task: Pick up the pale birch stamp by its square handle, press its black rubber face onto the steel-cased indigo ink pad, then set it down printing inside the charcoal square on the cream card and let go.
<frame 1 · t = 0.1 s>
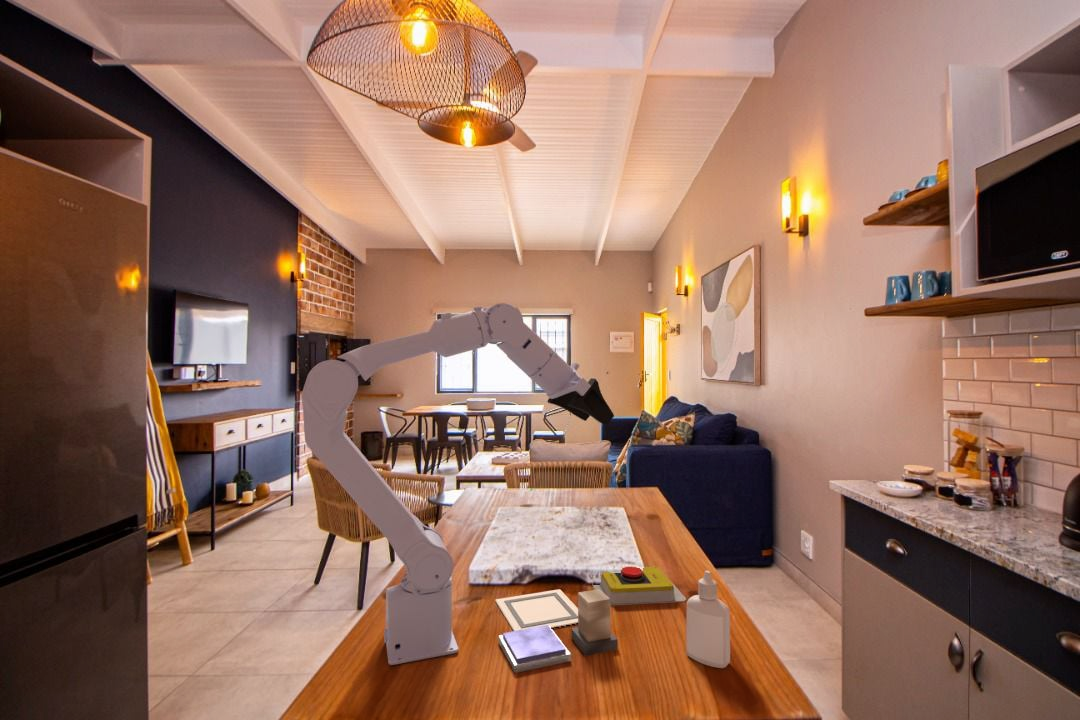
hand: (598, 418, 84), 32 cm above the table, tool tilted 50°, fingers open, 7 cm apart
emergency button: (637, 595, 92), on the table
eye dropper bottle: (708, 660, 70), on the table
stamp: (594, 644, 75), on the table
marked card: (540, 611, 84), on the table
ink pad: (533, 651, 72), on the table
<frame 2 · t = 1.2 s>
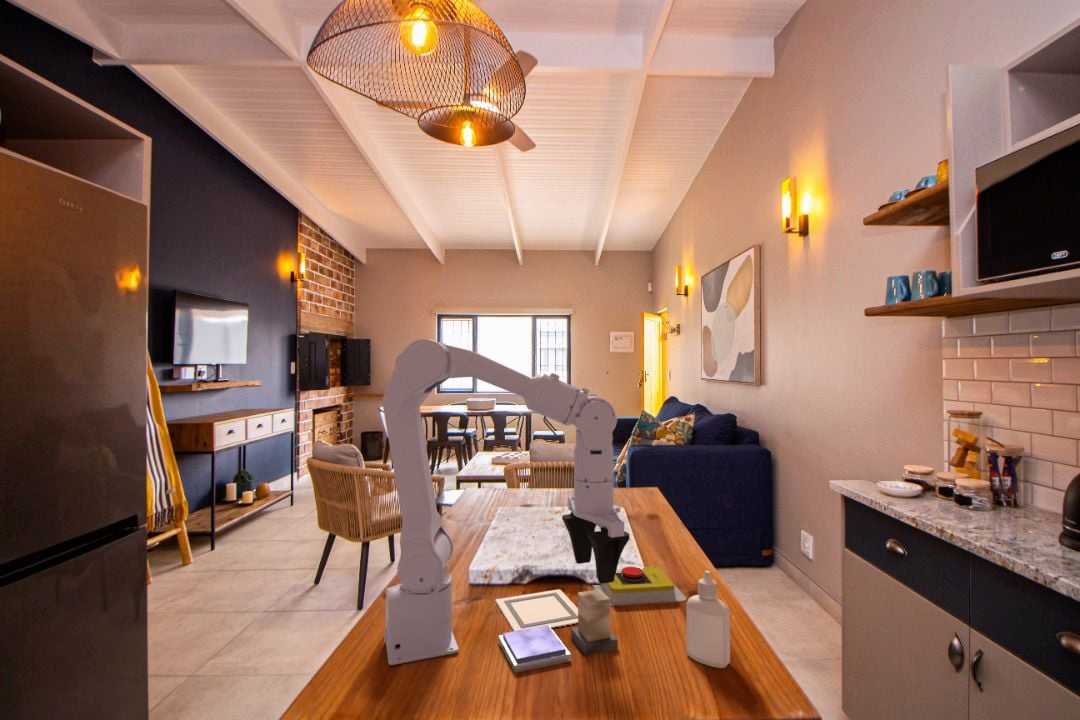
hand: (593, 571, 75), 10 cm above the table, tool pointing down, fingers open, 7 cm apart
nothing on the table moved.
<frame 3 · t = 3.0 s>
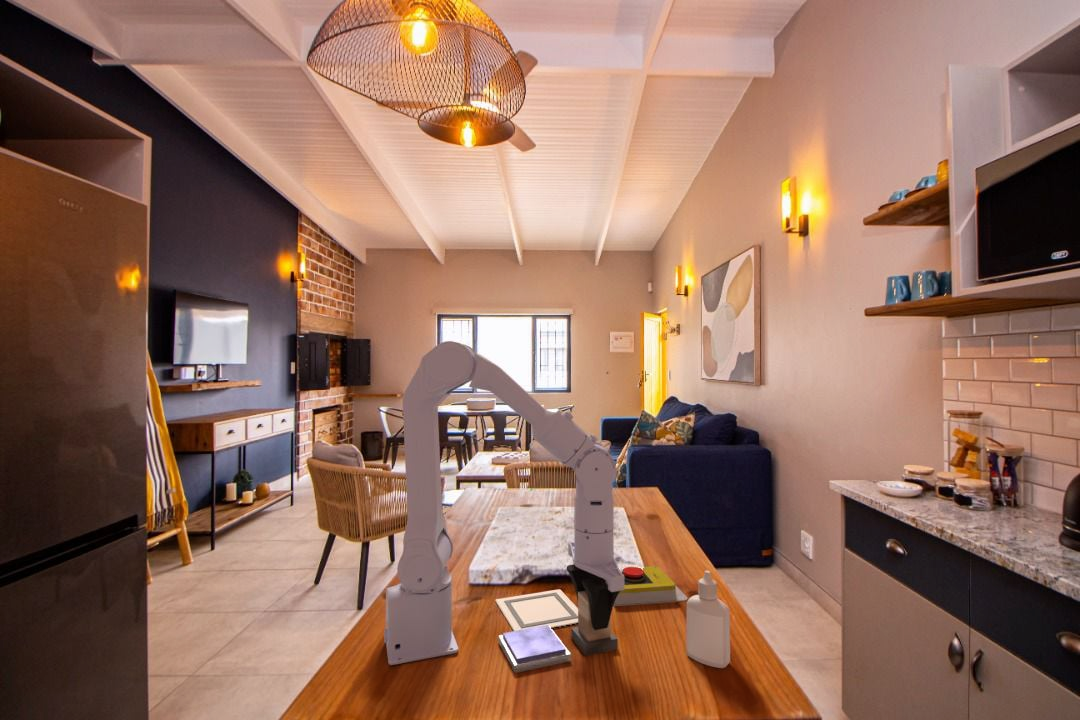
hand: (594, 621, 75), 3 cm above the table, tool pointing down, fingers closed on stamp, 3 cm apart
stamp: (594, 643, 75), on the table, touching gripper
everything else where it was.
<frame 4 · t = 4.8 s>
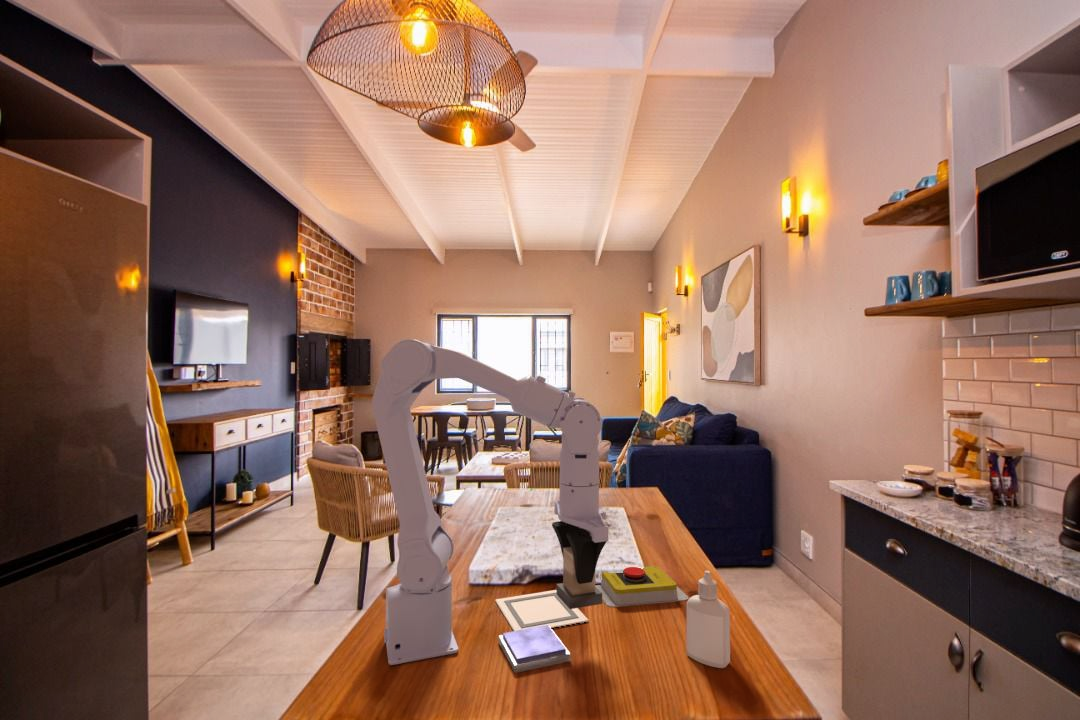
hand: (578, 576, 74), 10 cm above the table, tool pointing down, fingers closed on stamp, 3 cm apart
stamp: (578, 598, 74), point 7 cm above the table, touching gripper
everything else where it was.
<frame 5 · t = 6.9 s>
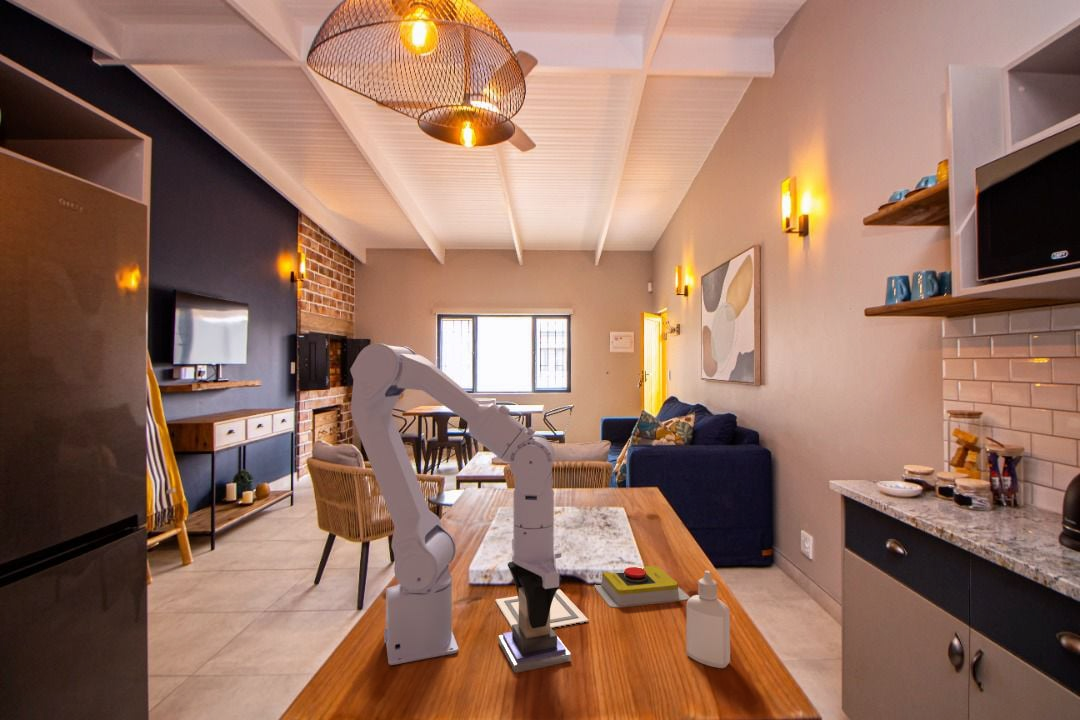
hand: (533, 619, 72), 5 cm above the table, tool pointing down, fingers closed on stamp, 3 cm apart
stamp: (534, 640, 72), point 1 cm above the table, touching gripper, ink pad
everything else where it was.
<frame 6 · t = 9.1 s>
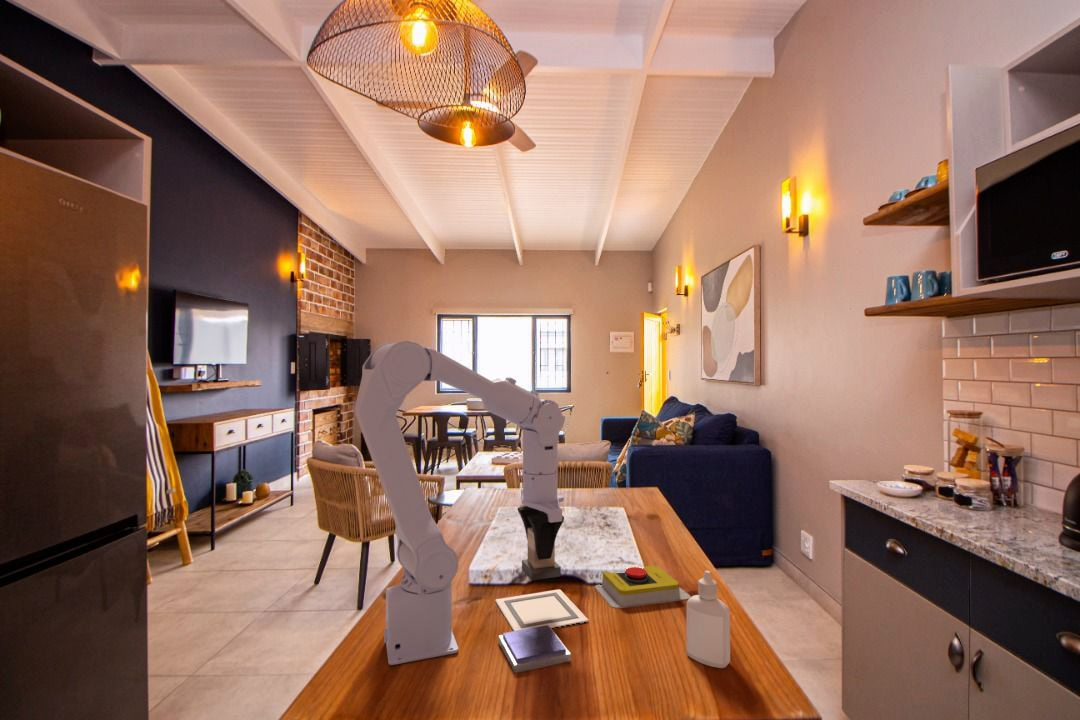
hand: (540, 554, 84), 9 cm above the table, tool pointing down, fingers closed on stamp, 3 cm apart
stamp: (540, 572, 84), point 6 cm above the table, touching gripper
everything else where it was.
when the fingers open (4 cm above the table, at t = 10.9 s): stamp stays where it is, resting on marked card.
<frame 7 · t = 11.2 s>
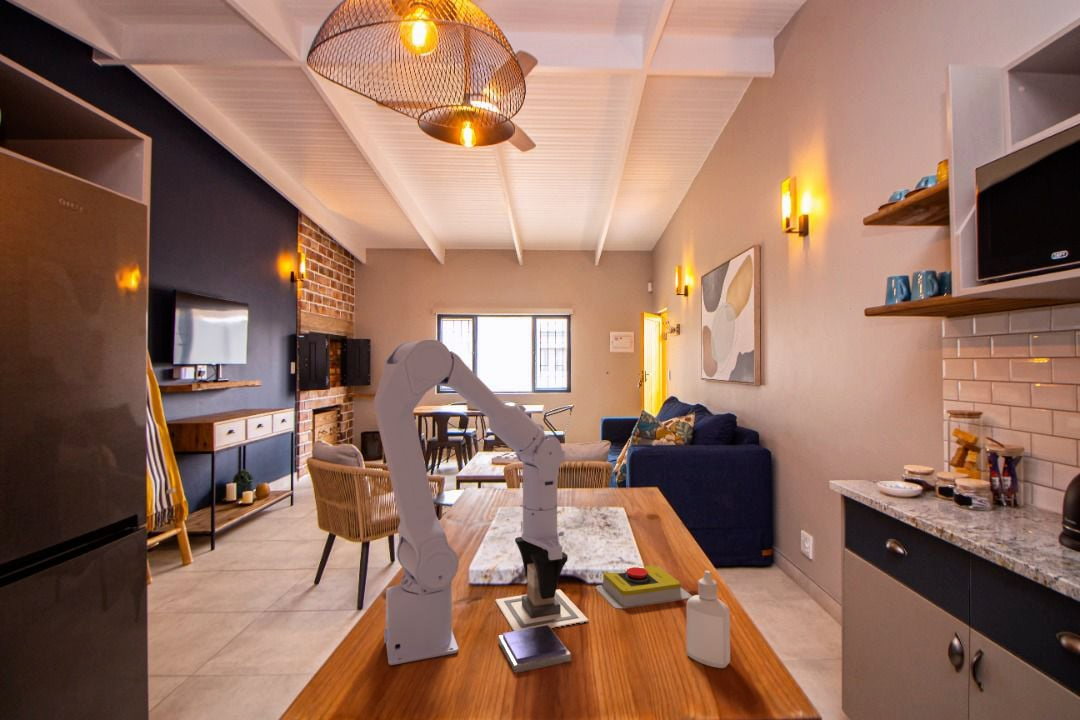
hand: (540, 588, 84), 4 cm above the table, tool pointing down, fingers open, 6 cm apart
stamp: (540, 609, 84), resting on marked card
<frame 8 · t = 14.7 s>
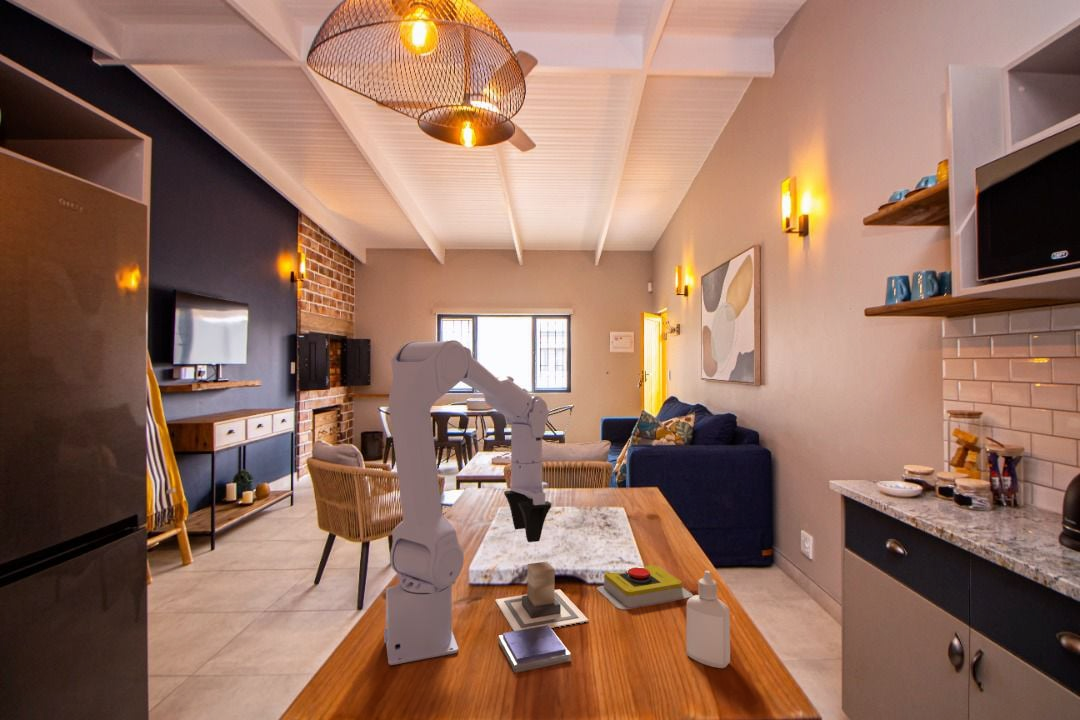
hand: (526, 534, 94), 9 cm above the table, tool pointing down, fingers open, 7 cm apart
at the end: stamp 0.1 cm off-centre on the marked card, point 0.3 cm above the marked card's base; stamp tilted 0°; the gripper is holding nothing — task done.
